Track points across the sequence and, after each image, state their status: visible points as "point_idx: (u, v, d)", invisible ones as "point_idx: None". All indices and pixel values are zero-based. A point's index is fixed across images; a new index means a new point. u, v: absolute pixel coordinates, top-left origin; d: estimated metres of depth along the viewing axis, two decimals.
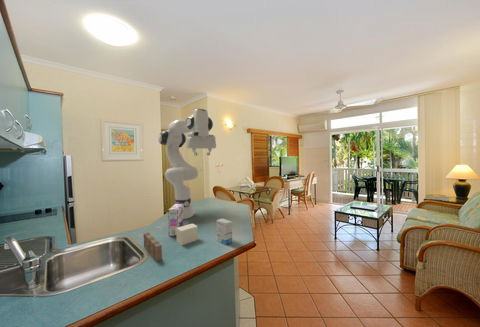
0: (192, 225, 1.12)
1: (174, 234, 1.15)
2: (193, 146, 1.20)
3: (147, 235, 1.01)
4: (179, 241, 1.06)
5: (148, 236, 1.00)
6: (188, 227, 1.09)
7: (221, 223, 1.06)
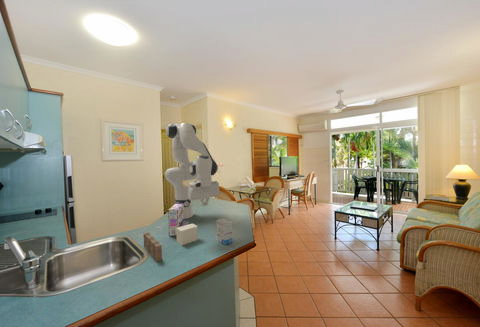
0: (192, 225, 1.12)
1: (174, 234, 1.15)
2: (195, 198, 1.10)
3: (147, 235, 1.01)
4: (179, 241, 1.06)
5: (148, 236, 1.00)
6: (188, 227, 1.09)
7: (221, 223, 1.06)
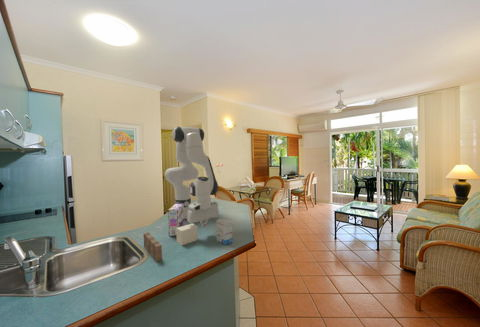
0: (192, 225, 1.12)
1: (174, 234, 1.15)
2: (194, 221, 1.10)
3: (147, 235, 1.01)
4: (179, 241, 1.06)
5: (148, 236, 1.00)
6: (188, 227, 1.09)
7: (221, 223, 1.06)
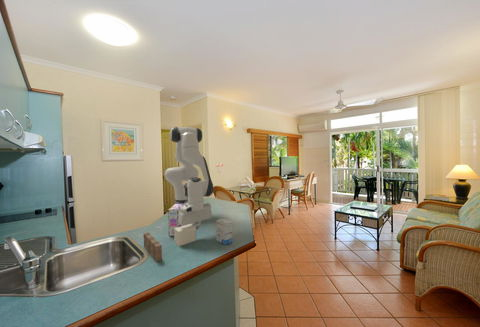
0: (190, 225, 1.11)
1: None
2: (186, 223, 1.07)
3: (147, 235, 1.01)
4: (177, 242, 1.05)
5: (148, 236, 1.00)
6: (186, 227, 1.08)
7: (221, 223, 1.06)
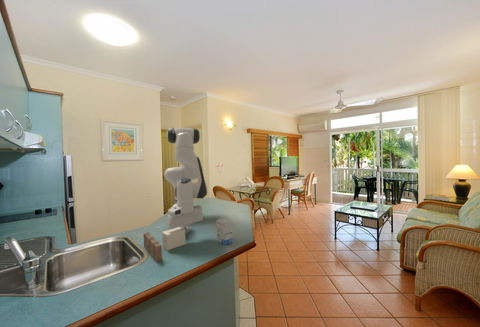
0: (179, 228, 1.07)
1: None
2: (174, 226, 1.02)
3: (147, 235, 1.01)
4: (165, 246, 1.01)
5: (148, 236, 1.00)
6: (175, 231, 1.03)
7: (221, 223, 1.06)
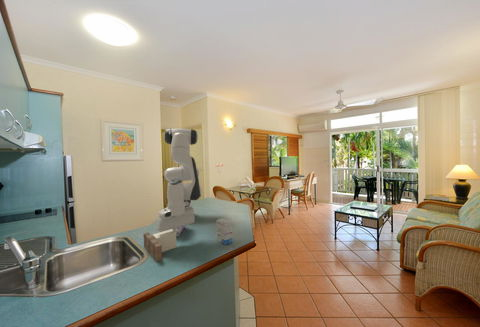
0: (170, 231, 1.04)
1: None
2: (164, 229, 0.99)
3: (147, 235, 1.01)
4: None
5: (148, 236, 1.00)
6: (165, 233, 1.00)
7: (221, 223, 1.06)
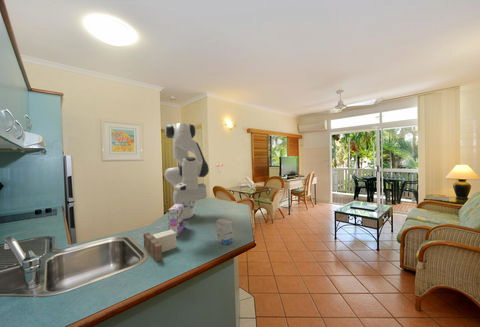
0: (171, 231, 1.04)
1: None
2: (180, 201, 1.07)
3: (147, 235, 1.01)
4: None
5: (148, 236, 1.00)
6: (165, 234, 1.00)
7: (221, 223, 1.06)
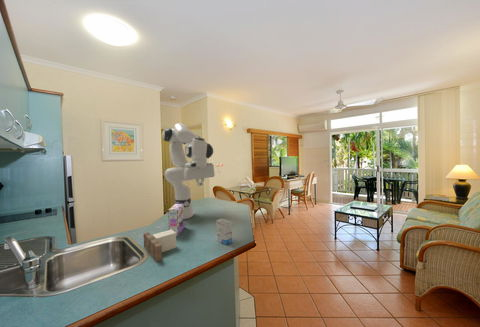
0: (171, 231, 1.04)
1: None
2: (190, 177, 1.16)
3: (147, 235, 1.01)
4: None
5: (148, 236, 1.00)
6: (165, 234, 1.00)
7: (221, 223, 1.06)
